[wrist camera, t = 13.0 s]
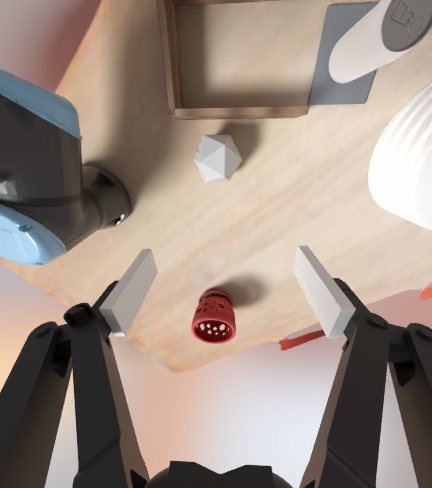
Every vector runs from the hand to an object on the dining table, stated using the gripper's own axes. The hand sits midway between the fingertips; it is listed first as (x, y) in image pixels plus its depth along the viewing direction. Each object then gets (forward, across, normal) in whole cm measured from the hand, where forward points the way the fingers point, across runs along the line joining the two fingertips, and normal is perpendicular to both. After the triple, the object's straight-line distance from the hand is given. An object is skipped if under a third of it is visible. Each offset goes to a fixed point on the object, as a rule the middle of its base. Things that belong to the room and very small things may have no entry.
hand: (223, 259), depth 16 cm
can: (+29, -21, -20) cm, 42 cm away
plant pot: (+30, +4, +39) cm, 49 cm away
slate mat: (+30, -22, -20) cm, 42 cm away
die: (+30, +1, -6) cm, 31 cm away
